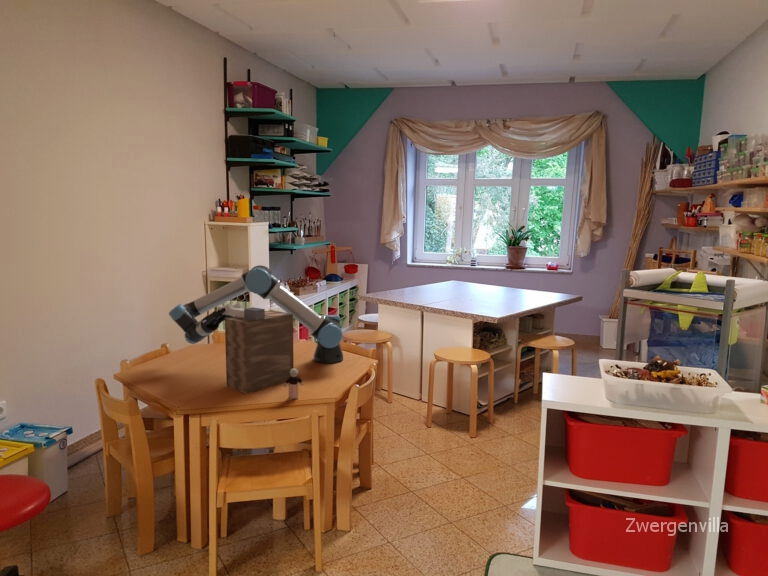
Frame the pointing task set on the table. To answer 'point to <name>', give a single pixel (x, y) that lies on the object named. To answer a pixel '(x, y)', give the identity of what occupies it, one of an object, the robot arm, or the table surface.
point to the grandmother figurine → (293, 384)
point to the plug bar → (246, 312)
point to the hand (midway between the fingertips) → (235, 305)
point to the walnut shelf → (258, 351)
